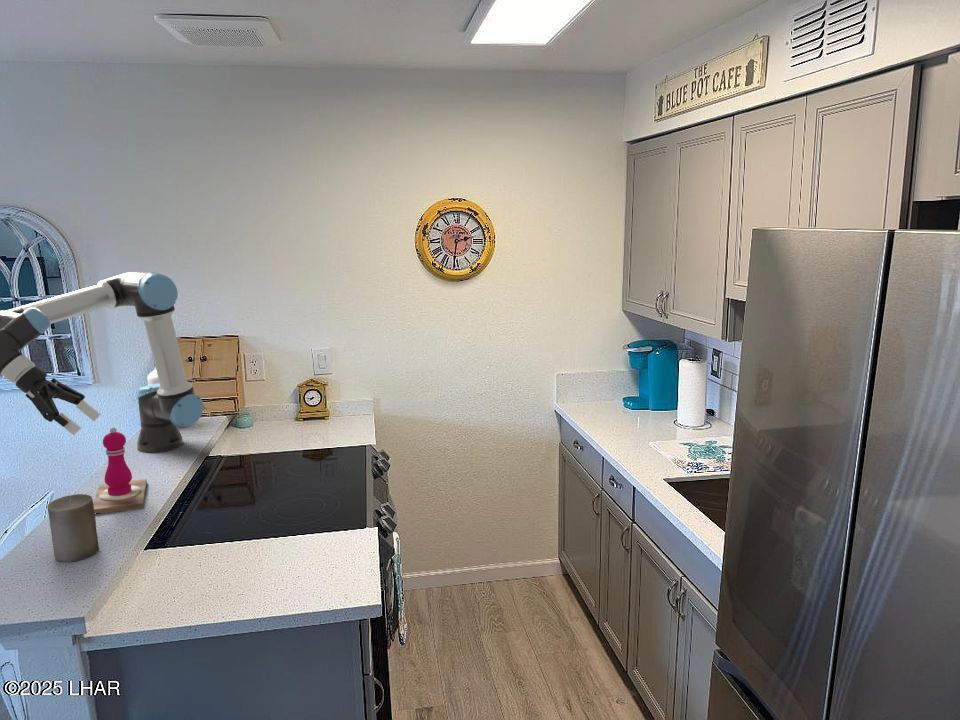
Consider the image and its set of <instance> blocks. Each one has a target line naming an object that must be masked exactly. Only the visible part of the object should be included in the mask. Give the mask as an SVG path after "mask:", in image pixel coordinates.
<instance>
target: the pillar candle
mask: <svg viewBox="0 0 960 720" xmlns="http://www.w3.org/2000/svg"><path fill="white" fill-rule="evenodd" d="M93 502H94V498H93V496H91V495H89V494H86V493H85V494H82V493H80V494H78V493H77V494H71V495H65V496H62V497H60V498H59V497H58V498H57V499H54V500H52V501H51V502H49V503H48V504H47V505H46V507H47V512H48V513H47V514H48V520H49V527H50V534H51V541H52V542H51V543H52V548H53V554H54V559H55V560H56V561H59V562H62V563H73V562H78V561H82V560H84V559H87V558H89V557H91V556H93V555H94V554H95V555H96V553H97V552H99V550H100V547H99V540H98V531H97V530H98V529H97V522H96V514H95V513H94V505H93Z"/></svg>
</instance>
